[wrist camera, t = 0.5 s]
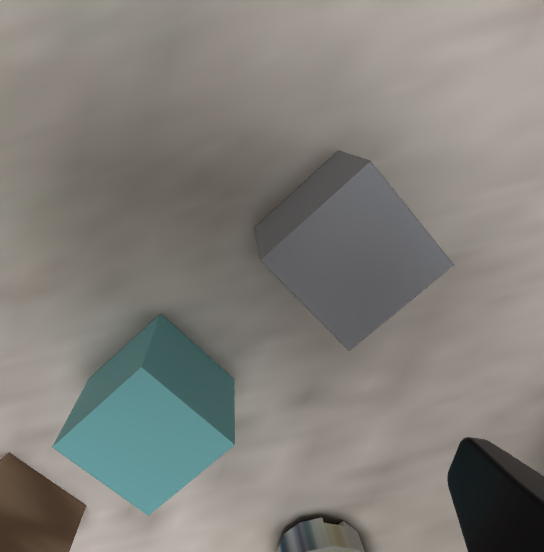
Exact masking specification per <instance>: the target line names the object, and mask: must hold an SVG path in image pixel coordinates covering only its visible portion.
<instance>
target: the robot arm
mask: <svg viewBox="0 0 544 552" xmlns="http://www.w3.org/2000/svg"><path fill="white" fill-rule="evenodd" d="M448 486H449V490H450V493H451V497H452V500H453V503H454V507H455V510H456V513H457V517H458V520H459V523H460V527H461V530H462V533H463V536H464V540H465V543H466V546H467V550H468V552H544V476H543V475H541V474H539V473H538V472H536V471H535V470H533V469H532V468H530V467H528V466H527V465H525V464H524V463H522V462H521V461H519V460H518V459H516V458H514V457H513V456H511V455H510V454H508V453H507V452H505V451H503V450H502V449H500V448H499V447H497V446H496V445H494V444H493V443H491V442H489V441H488V440H485V439H478V438H471V437H466V438H464V439H463V440H462V441H461V442H460V444H459V447H458V449H457V452H456V454H455V457H454V459H453V461H452V464H451V466H450V469H449V472H448Z"/></svg>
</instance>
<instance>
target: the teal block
mask: <svg viewBox="0 0 544 552" xmlns="http://www.w3.org/2000/svg"><path fill="white" fill-rule="evenodd" d="M234 445H235V414H234V379H233V378H232V377H231V376H230V375H229V374H228V373H226V372H225V371H224V370H223V369H222V368H221V367H220V366H219V365H217V364H216V363H215V362H214V361H213V360H212V359H211V358H210V357H208V356H207V355H206V354H205V353H204V352H203V351H202V350H201V349H199V348H198V347H197V346H196V345H195V344H194V343H193V342H192V341H191V340H189V339H188V338H187V337H186V336H185V335H184V334H183V333H182V332H180V331H179V330H178V329H177V328H176V327H175V326H174V325H173V324H171V323H170V322H169V321H168V320H167V319H166V318H165V317H164V316H162V315H161V314H160V315H158V316H157V317H156V318H155V319H154V320H153V321H152V322H151V323H150V324H149V325H148V326H146V327H145V328H144V329H143V330H142V331H141V332H140V333H139V334H138V335H137V336H136V337H134V338H133V339H132V340H131V341H130V342H129V343H128V344H127V345H126V346H125V347H124V348H122V349H121V350H120V351H119V352H118V353H117V354H116V355H115V356H114V357H113V358H112V359H110V360H109V361H108V362H107V363H106V364H105V365H104V366H103V367H102V368H101V369H99V370H98V371H97V372H96V373H95V374H94V375H93V376H92V377H91V378H90V379H89V380H88V382H87V383H86V385H85V387H84V389H83V391H82V393H81V395H80V396H79V398H78V400H77V402H76V404H75V406H74V408H73V409H72V411H71V413H70V415H69V417H68V419H67V421H66V422H65V424H64V426H63V428H62V430H61V432H60V434H59V435H58V437H57V439H56V441H55V443H54V445H53V448H54V449H55V450H57V451H58V452H60V453H61V454H62V455H64V456H65V457H67V458H68V459H69V460H71V461H72V462H74V463H75V464H76V465H78V466H79V467H81V468H82V469H83V470H85V471H86V472H88V473H89V474H90V475H92V476H93V477H95V478H96V479H98V480H99V481H100V482H102V483H103V484H105V485H106V486H107V487H109V488H110V489H112V490H113V491H114V492H116V493H117V494H119V495H120V496H121V497H123V498H124V499H126V500H127V501H128V502H130V503H131V504H133V505H134V506H135V507H137V508H138V509H140V510H141V511H142V512H144V513H145V514H147V515H148V516H149V515H150V514H151V513H152V512H153V511H155V510H156V509H157V508H158V507H160V506H161V505H162V504H163V503H164V502H166V501H167V500H168V499H169V498H171V497H172V496H173V495H174V494H175V493H177V492H178V491H179V490H180V489H181V488H183V487H184V486H185V485H186V484H188V483H189V482H190V481H191V480H192V479H194V478H195V477H196V476H197V475H199V474H200V473H201V472H202V471H203V470H205V469H206V468H207V467H208V466H210V465H211V464H212V463H213V462H214V461H216V460H217V459H218V458H219V457H220V456H222V455H223V454H224V453H225V452H227V451H228V450H229V449H230V448H231V447H233V446H234Z"/></svg>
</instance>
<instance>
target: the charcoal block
mask: <svg viewBox="0 0 544 552" xmlns="http://www.w3.org/2000/svg"><path fill="white" fill-rule="evenodd" d="M254 231H255V236H256V241H257V246H258V251H259V256H260V261H261V262H262V263H263V264H264V265H265V266H266V267H267V268H268V269H269V270H270V271H271V272H272V273H273V274H274V275H275V276H276V277H277V278H278V279H279V280H280V281H281V282H282V283H283V284H284V285H285V286H286V287H287V288H288V289H289V290H290V291H291V292H292V293H293V294H294V295H295V296H296V297H297V298H298V299H299V300H300V301H301V303H302V304H303V305H304V306H305V307H306V308H307V309H308V310H309V311H310V312H311V313H312V314H313V315H314V316H315V317H316V318H317V319H318V320H319V321H320V322H321V323H322V324H323V325H324V326H325V327H326V328H327V329H328V330H329V331H330V332H331V333H332V334H333V335H334V336H335V337H336V338H337V339H338V340H339V341H340V342H341V343H342V344H343V345H344V347H345V348H346V349H347V350H348V351H350V350H351V349H352V348H353V347H355V346H356V345H357V344H358V343H360V342H361V341H362V340H363V339H364V338H366V337H367V336H368V335H369V334H371V333H372V332H373V331H374V330H375V329H377V328H378V327H379V326H380V325H381V324H383V323H384V322H385V321H386V320H388V319H389V318H390V317H391V316H392V315H394V314H395V313H396V312H397V311H399V310H400V309H401V308H402V307H403V306H405V305H406V304H407V303H408V302H410V301H411V300H412V299H413V298H414V297H416V296H417V295H418V294H419V293H420V292H422V291H423V290H424V289H425V288H427V287H428V286H429V285H430V284H431V283H433V282H434V281H435V280H436V279H438V278H439V277H440V276H441V275H442V274H444V273H445V272H446V271H447V270H449V269H450V268H451V267H452V266H453V265H454V264H453V263H452V262H451V260H450V259H449V258H448V257H447V255H446V254H445V253H444V252H443V250H442V249H441V248H440V247H439V245H438V244H437V243H436V242H435V240H434V239H433V238H432V237H431V235H430V234H429V233H428V232H427V230H426V229H425V228H424V227H423V225H422V224H421V223H420V222H419V220H418V219H417V218H416V217H415V216H414V214H413V213H412V212H411V211H410V209H409V208H408V207H407V206H406V204H405V203H404V202H403V201H402V199H401V198H400V197H399V196H398V194H397V193H396V192H395V191H394V189H393V188H392V187H391V186H390V184H389V183H388V182H387V181H386V179H385V178H384V177H383V176H382V174H381V173H380V172H379V171H378V170H377V168H376V167H375V166H374V165H373V163H372V162H371V161H369V160H366V159H363V158H360V157H357V156H354V155H351V154H348V153H345V152H342V151H338V152H337V153H335V154H334V155H333V156H332V157H331V158H330V159H329V160H328V161H327V162H326V163H324V164H323V165H322V166H321V167H320V168H319V169H318V170H317V171H316V172H315V173H314V174H312V175H311V176H310V177H309V178H308V179H307V180H306V181H305V182H304V183H303V184H302V185H300V186H299V187H298V188H297V189H296V190H295V191H294V192H293V193H292V194H291V195H290V196H288V197H287V198H286V199H285V200H284V201H283V202H282V203H281V204H280V205H279V206H278V207H276V208H275V209H274V210H273V211H272V212H271V213H270V214H269V215H268V216H267V217H266V218H264V219H263V220H262V221H261V222H260V223H259V224H258V225H257V226H256V227H255V228H254Z"/></svg>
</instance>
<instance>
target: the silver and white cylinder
mask: <svg viewBox="0 0 544 552" xmlns="http://www.w3.org/2000/svg"><path fill="white" fill-rule="evenodd" d="M278 552H365V551H364V548H363V545H362V543H361V540H360V537H359V534H358V532H357V531H356V530H355V529H353V528H352V527H351V526H349V525H348V524H347V523H345V522H344V521H342V522H341V523H340V524H338V525H335V524H329V523H324V522H323V519H322V518H317V519H313V520H308V521H303V522H300V523H298V524H297V525H296V526H294V527H293V528H291V529H290V530H289V531H287V532H286V533H284V534H283V537H282V539H281V542H280V544H279V547H278Z"/></svg>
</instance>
